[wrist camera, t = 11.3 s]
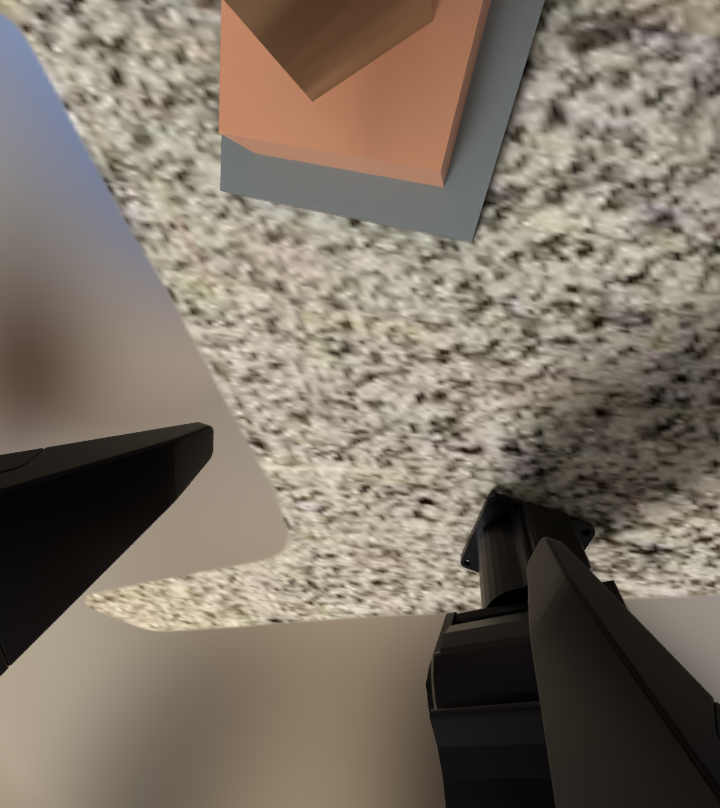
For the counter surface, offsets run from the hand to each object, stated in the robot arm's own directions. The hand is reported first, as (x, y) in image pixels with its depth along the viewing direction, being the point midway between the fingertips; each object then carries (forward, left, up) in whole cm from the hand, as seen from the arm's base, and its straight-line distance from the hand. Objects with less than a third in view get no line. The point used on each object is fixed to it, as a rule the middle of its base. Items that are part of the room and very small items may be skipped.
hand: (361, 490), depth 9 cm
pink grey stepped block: (+14, +6, -13) cm, 20 cm away
